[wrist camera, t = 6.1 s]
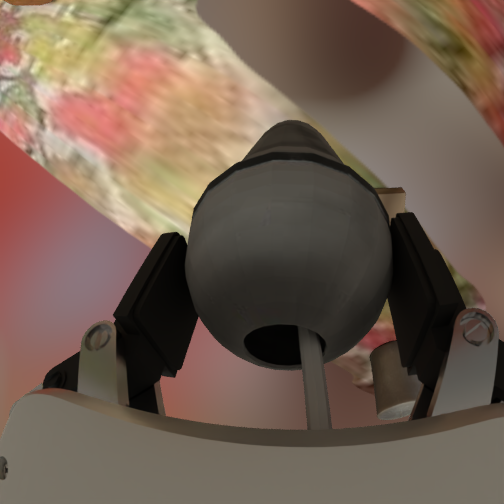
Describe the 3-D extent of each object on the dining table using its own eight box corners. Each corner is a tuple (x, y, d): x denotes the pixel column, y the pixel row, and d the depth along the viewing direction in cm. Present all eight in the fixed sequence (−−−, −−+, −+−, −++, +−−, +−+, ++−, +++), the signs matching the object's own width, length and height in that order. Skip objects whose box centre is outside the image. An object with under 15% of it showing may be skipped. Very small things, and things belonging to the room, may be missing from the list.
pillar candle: (361, 361, 54) (367, 426, 42) (386, 336, 48) (398, 408, 36) (396, 365, 54) (405, 424, 43) (421, 341, 48) (436, 406, 36)
